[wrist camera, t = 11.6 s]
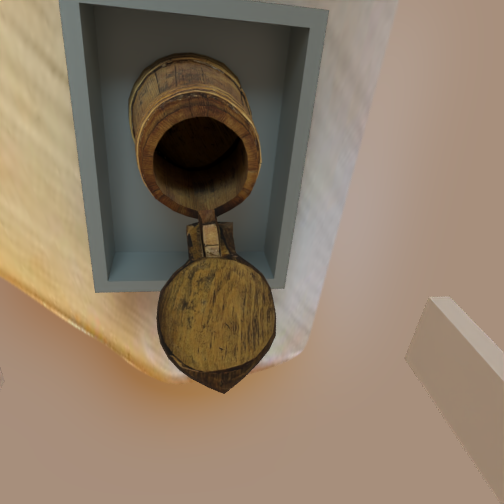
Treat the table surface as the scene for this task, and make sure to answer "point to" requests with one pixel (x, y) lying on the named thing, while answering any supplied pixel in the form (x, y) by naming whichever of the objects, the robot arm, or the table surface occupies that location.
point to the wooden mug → (203, 214)
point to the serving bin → (123, 147)
